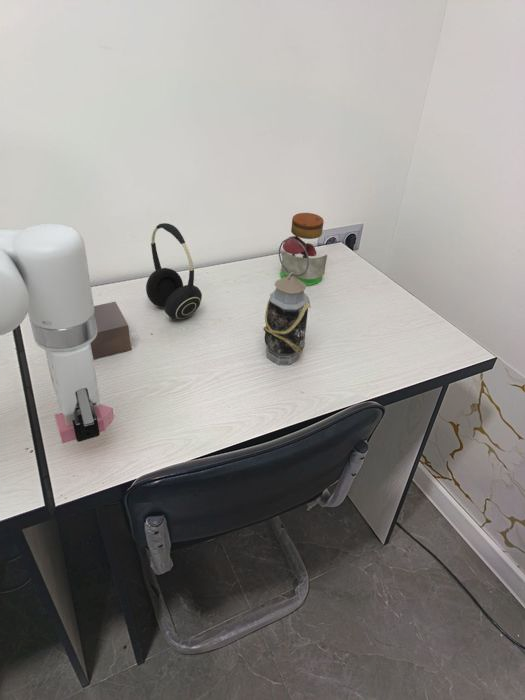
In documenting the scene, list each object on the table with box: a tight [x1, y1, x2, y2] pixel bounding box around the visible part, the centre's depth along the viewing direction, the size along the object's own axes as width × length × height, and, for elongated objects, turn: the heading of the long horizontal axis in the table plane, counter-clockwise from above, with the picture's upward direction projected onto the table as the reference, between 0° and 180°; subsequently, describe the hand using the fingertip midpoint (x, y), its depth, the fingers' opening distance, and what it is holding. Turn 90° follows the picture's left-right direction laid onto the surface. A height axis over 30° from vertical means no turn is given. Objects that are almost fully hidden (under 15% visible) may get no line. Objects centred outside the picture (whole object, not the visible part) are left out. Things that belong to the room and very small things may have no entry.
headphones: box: [145, 222, 203, 320], centre depth 102 cm, size 9×15×20 cm, turn 41°
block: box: [90, 301, 132, 361], centre depth 96 cm, size 9×9×6 cm
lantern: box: [263, 237, 311, 366], centre depth 91 cm, size 9×8×25 cm
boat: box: [54, 401, 115, 444], centre depth 72 cm, size 8×4×5 cm, turn 118°
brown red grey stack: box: [279, 212, 328, 287], centre depth 120 cm, size 12×13×15 cm
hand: (84, 426), depth 73 cm, fingers closed on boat, 3 cm apart
